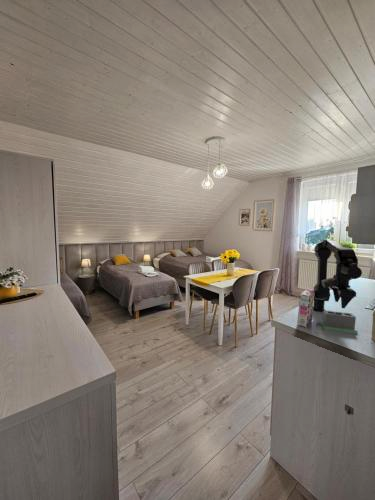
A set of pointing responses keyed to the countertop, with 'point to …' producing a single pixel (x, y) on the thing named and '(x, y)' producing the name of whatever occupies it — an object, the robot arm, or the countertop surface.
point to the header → (338, 328)
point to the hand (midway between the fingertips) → (339, 304)
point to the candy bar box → (305, 308)
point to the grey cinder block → (339, 319)
